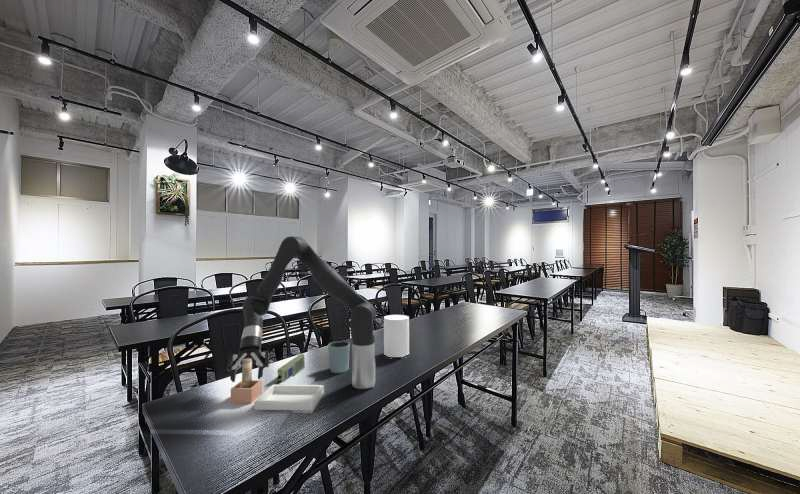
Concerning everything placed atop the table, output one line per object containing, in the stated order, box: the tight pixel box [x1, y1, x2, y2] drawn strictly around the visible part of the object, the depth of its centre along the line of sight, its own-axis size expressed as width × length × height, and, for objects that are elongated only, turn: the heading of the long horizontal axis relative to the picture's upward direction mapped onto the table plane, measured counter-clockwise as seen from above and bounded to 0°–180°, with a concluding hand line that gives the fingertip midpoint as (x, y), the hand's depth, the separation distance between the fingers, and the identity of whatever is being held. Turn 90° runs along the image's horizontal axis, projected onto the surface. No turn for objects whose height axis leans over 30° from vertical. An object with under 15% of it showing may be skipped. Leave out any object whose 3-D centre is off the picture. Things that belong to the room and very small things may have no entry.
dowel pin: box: [241, 358, 253, 388], centre depth 112 cm, size 3×3×14 cm
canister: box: [383, 314, 410, 357], centre depth 163 cm, size 14×14×20 cm
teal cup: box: [327, 340, 351, 374], centre depth 141 cm, size 10×10×12 cm
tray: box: [253, 383, 325, 414], centre depth 110 cm, size 20×14×4 cm
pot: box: [230, 379, 263, 404], centre depth 111 cm, size 8×8×6 cm
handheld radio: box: [275, 353, 306, 385], centre depth 132 cm, size 7×3×25 cm
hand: (246, 379), depth 110 cm, fingers open, 8 cm apart
